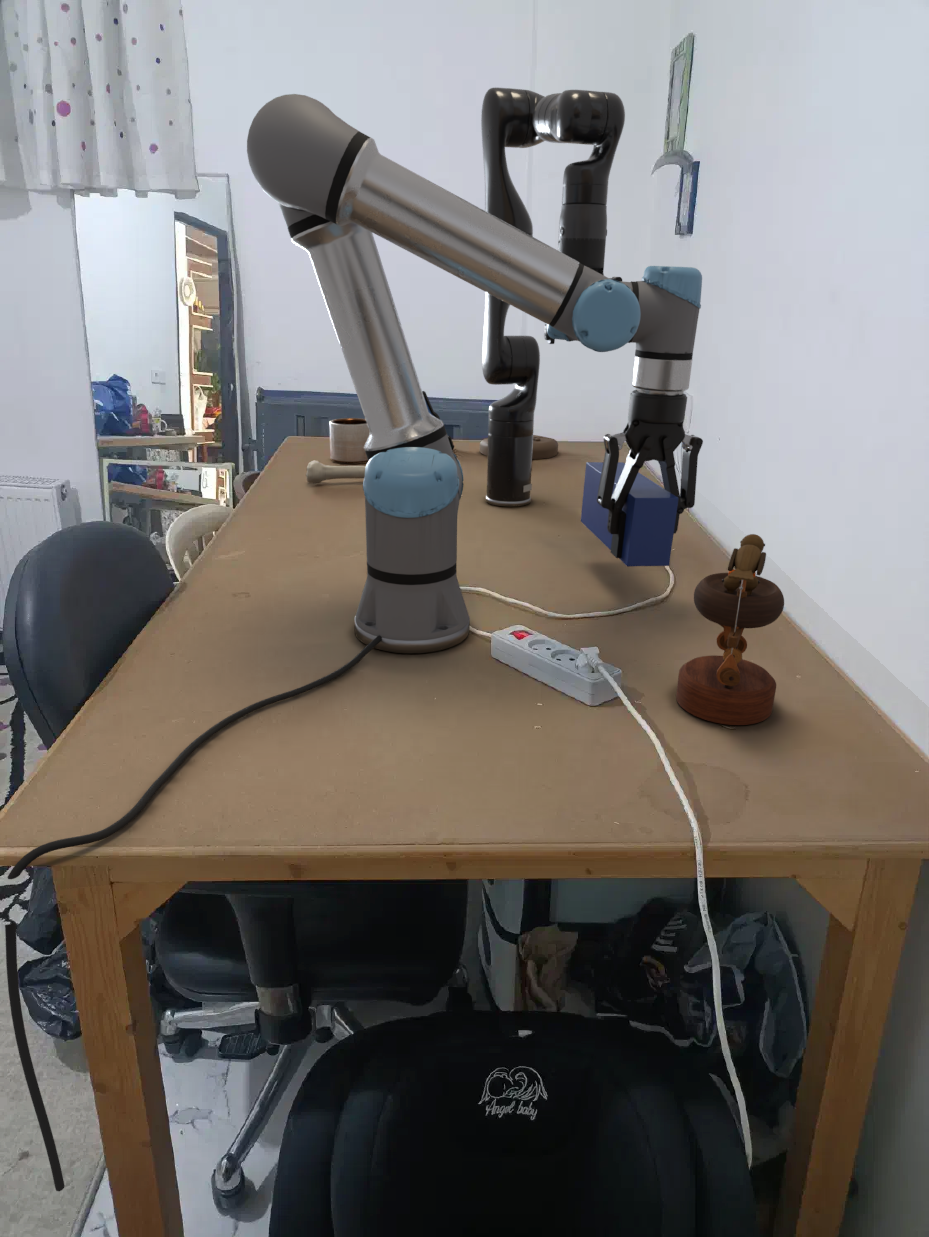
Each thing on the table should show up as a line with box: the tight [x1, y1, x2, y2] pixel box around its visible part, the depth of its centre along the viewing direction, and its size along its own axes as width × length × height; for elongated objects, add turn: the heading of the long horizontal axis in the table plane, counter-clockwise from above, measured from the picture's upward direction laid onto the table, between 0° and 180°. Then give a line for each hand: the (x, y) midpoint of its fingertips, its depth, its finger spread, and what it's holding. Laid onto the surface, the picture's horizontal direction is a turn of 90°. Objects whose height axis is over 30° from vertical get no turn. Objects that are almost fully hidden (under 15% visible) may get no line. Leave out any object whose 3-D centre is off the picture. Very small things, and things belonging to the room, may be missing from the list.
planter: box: [328, 417, 370, 464], centre depth 212 cm, size 11×11×10 cm
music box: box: [675, 533, 785, 726], centre depth 92 cm, size 15×11×20 cm
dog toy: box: [305, 459, 366, 484], centre depth 190 cm, size 20×6×5 cm, turn 99°
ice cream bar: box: [479, 434, 559, 460], centre depth 219 cm, size 21×28×4 cm
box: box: [580, 461, 678, 567], centre depth 127 cm, size 23×6×10 cm, turn 9°
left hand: (639, 554), depth 122 cm, fingers closed on box, 6 cm apart
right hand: (575, 343), depth 141 cm, fingers open, 8 cm apart
